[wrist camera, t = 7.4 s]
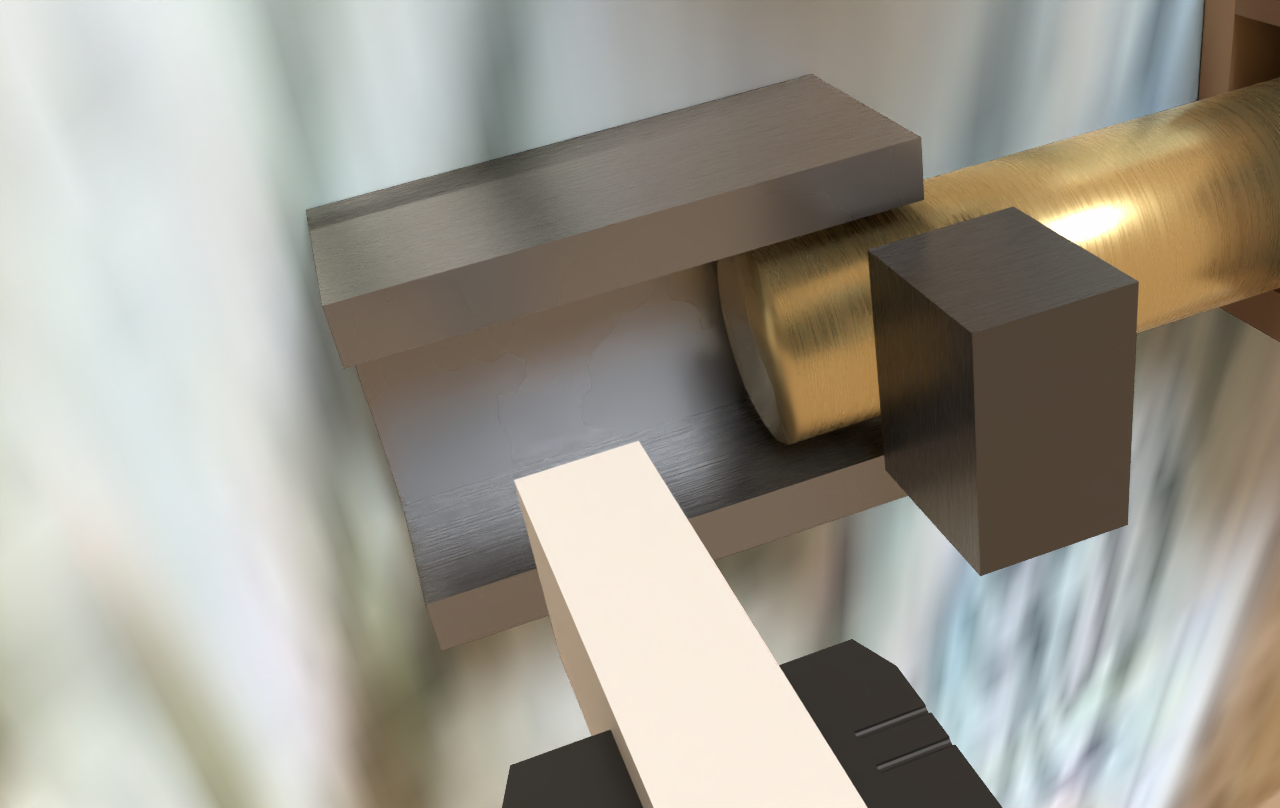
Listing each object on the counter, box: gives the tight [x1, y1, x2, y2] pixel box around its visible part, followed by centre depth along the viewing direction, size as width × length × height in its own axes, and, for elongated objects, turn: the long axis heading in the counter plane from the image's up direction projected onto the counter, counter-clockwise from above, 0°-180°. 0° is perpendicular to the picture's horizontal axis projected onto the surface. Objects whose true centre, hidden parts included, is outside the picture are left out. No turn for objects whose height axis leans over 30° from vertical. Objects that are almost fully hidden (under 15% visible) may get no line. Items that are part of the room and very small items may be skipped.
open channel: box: [306, 74, 924, 651], centre depth 21 cm, size 9×6×4 cm
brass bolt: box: [717, 77, 1280, 576], centre depth 20 cm, size 13×4×7 cm, turn 100°
